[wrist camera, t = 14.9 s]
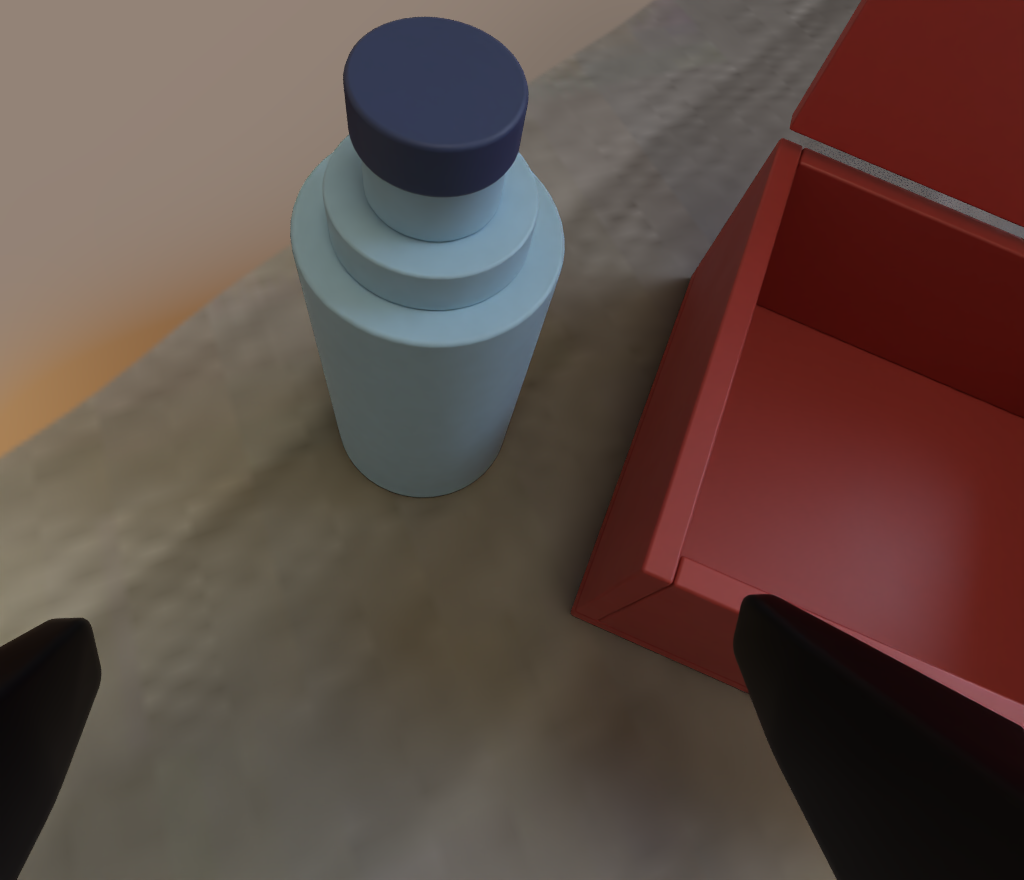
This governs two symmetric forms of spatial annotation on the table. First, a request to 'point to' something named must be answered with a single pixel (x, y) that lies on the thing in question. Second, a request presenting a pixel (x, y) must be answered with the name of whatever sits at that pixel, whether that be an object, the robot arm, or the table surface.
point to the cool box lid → (929, 97)
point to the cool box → (833, 438)
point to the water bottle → (427, 255)
